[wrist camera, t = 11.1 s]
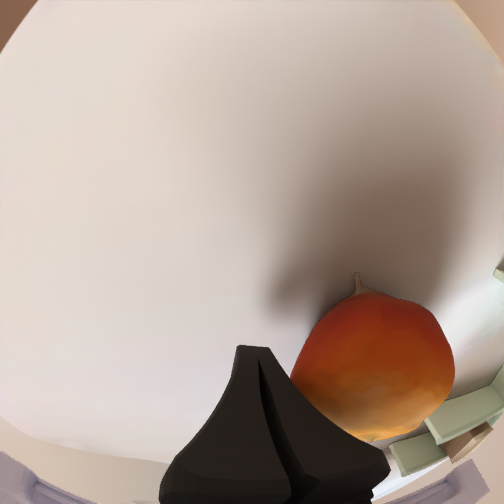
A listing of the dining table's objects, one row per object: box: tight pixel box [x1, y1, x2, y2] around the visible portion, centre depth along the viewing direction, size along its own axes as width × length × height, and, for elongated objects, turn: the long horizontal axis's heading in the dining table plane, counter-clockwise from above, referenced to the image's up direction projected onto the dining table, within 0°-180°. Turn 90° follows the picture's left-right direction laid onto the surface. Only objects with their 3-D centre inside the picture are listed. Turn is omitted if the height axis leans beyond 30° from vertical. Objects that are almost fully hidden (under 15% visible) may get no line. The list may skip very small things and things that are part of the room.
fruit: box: [290, 272, 455, 442], centre depth 11 cm, size 8×8×8 cm
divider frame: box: [389, 269, 504, 477], centre depth 16 cm, size 21×15×4 cm
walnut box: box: [442, 421, 493, 464], centre depth 17 cm, size 4×4×6 cm
